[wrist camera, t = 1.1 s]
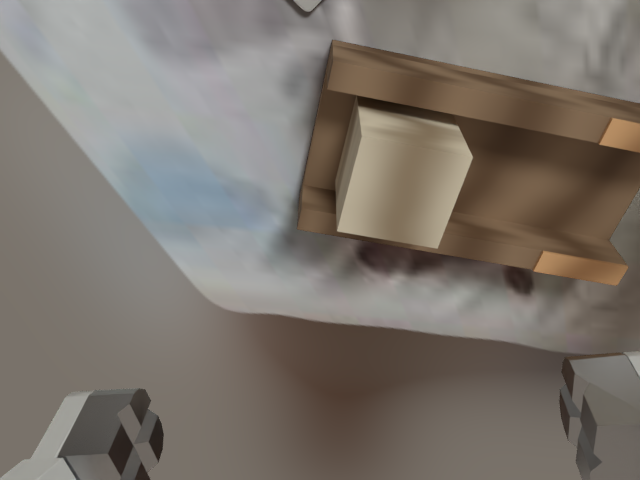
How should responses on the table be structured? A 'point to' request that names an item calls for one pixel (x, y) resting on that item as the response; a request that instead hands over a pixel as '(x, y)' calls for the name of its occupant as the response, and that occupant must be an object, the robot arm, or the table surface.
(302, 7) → the smartphone
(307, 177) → the chute
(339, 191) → the block
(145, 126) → the table surface
